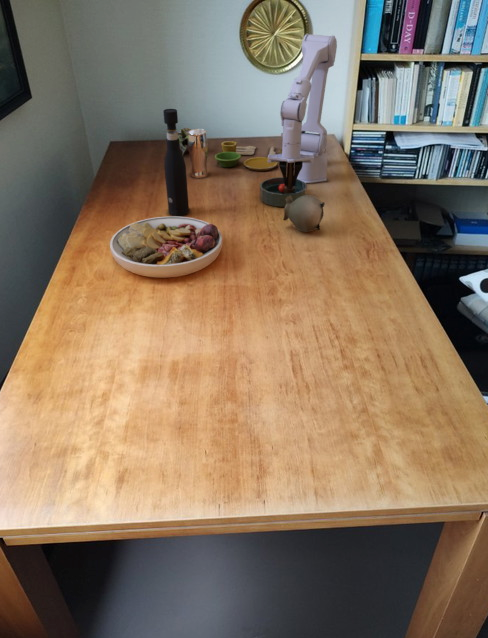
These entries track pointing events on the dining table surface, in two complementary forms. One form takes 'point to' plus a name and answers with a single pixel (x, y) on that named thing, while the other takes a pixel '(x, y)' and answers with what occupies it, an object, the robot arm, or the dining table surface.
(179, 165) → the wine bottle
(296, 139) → the robot arm
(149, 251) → the bowl
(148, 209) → the dining table surface
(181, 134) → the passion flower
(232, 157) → the tableware set
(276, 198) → the bowl
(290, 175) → the muddler
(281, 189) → the tomato
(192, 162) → the metal tumbler
